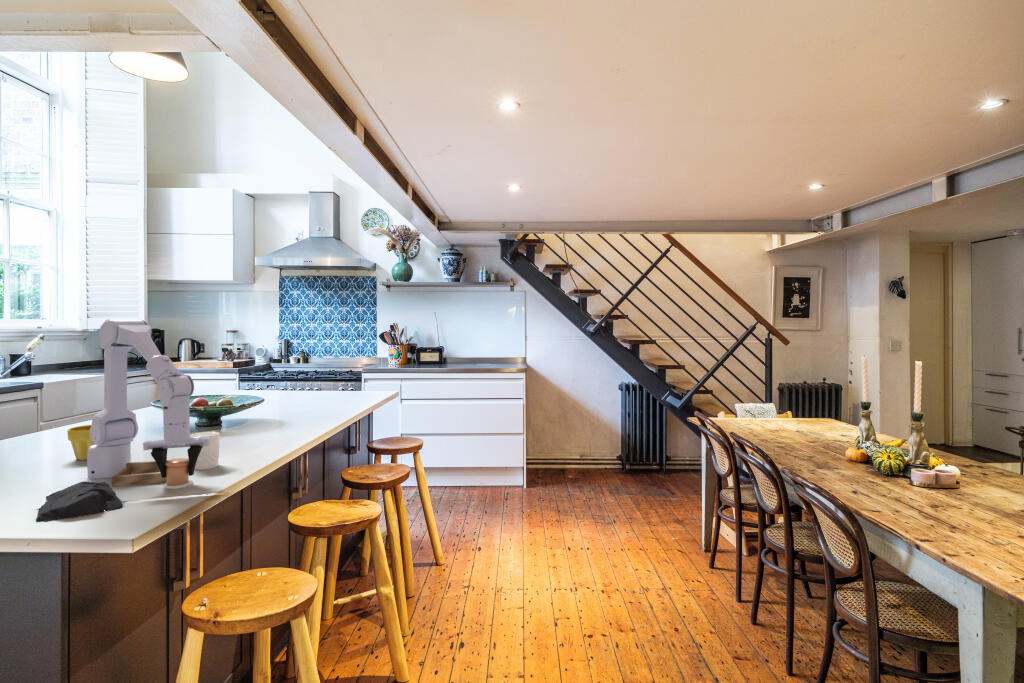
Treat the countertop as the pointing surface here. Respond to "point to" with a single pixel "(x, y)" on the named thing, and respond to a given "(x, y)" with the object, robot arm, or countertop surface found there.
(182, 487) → the saucer
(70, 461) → the countertop surface
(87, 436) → the plant pot
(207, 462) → the white cup
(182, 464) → the tan bell-shaped knob
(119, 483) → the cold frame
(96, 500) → the dark slate chunk
